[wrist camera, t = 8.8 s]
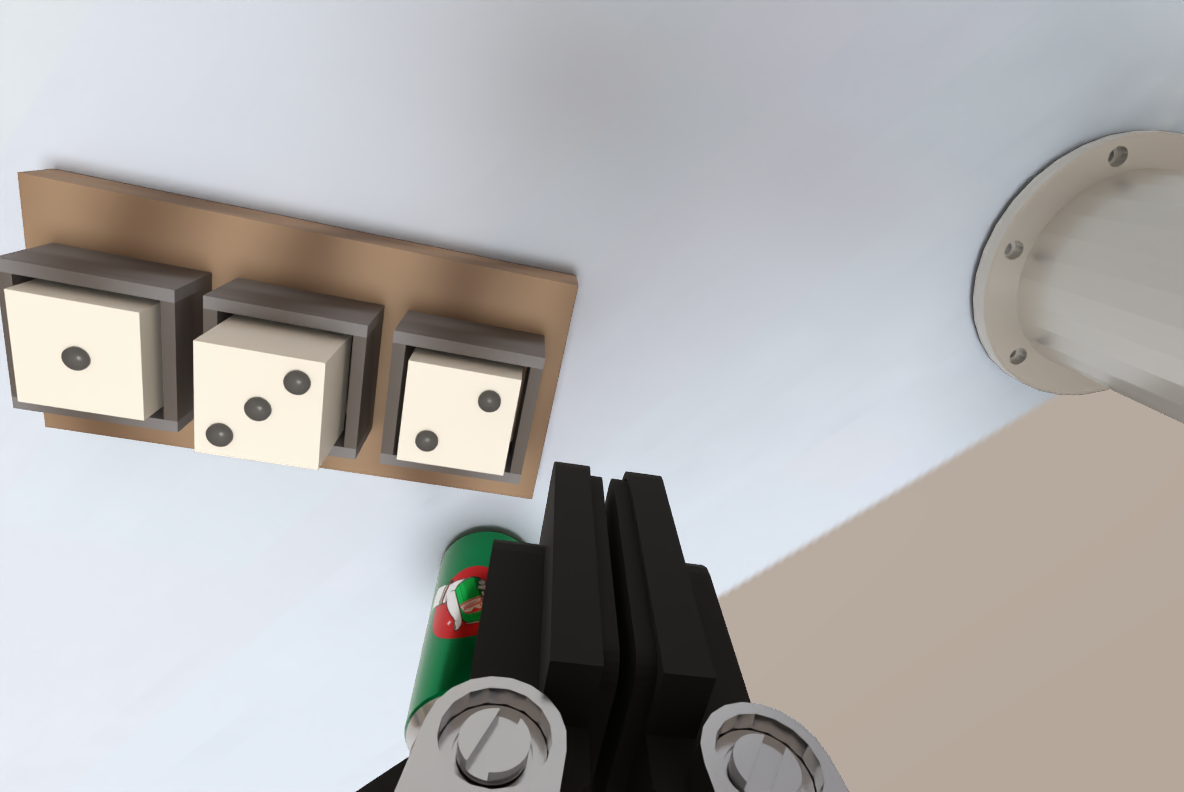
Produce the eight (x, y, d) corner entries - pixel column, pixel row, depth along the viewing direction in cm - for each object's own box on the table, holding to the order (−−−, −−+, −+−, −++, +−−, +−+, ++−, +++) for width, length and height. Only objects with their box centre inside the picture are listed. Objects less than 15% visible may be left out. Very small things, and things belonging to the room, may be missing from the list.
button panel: (575, 275, 30) (582, 303, 25) (532, 478, 34) (531, 534, 29) (53, 168, 26) (-49, 179, 22) (74, 408, 31) (-8, 458, 26)
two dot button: (523, 351, 29) (521, 381, 25) (507, 438, 30) (502, 477, 27) (423, 332, 28) (407, 361, 25) (411, 422, 30) (395, 461, 26)
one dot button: (187, 289, 26) (136, 313, 23) (189, 386, 28) (141, 422, 25) (70, 267, 26) (0, 289, 22) (78, 368, 27) (14, 403, 24)
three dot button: (351, 333, 26) (324, 364, 23) (343, 429, 28) (316, 471, 24) (236, 312, 25) (190, 341, 22) (235, 412, 27) (192, 453, 24)
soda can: (507, 610, 37) (495, 816, 26) (426, 579, 36) (377, 781, 25) (549, 546, 36) (555, 736, 25) (466, 511, 34) (433, 694, 23)
